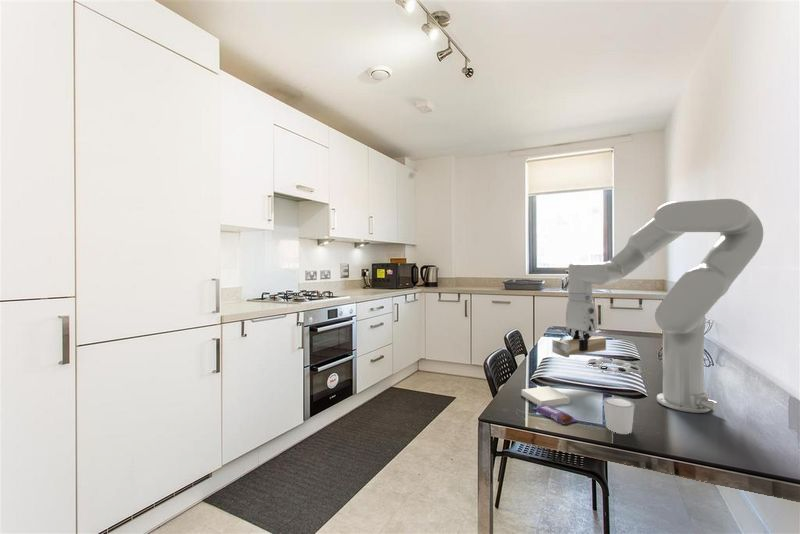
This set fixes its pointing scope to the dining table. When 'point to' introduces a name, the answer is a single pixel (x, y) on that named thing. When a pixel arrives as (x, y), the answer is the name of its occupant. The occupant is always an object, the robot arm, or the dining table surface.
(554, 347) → the tan wooden plank
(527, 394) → the tile
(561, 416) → the snack package
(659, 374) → the dining table surface
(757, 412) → the dining table surface
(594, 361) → the paint palette
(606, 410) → the white cylinder
